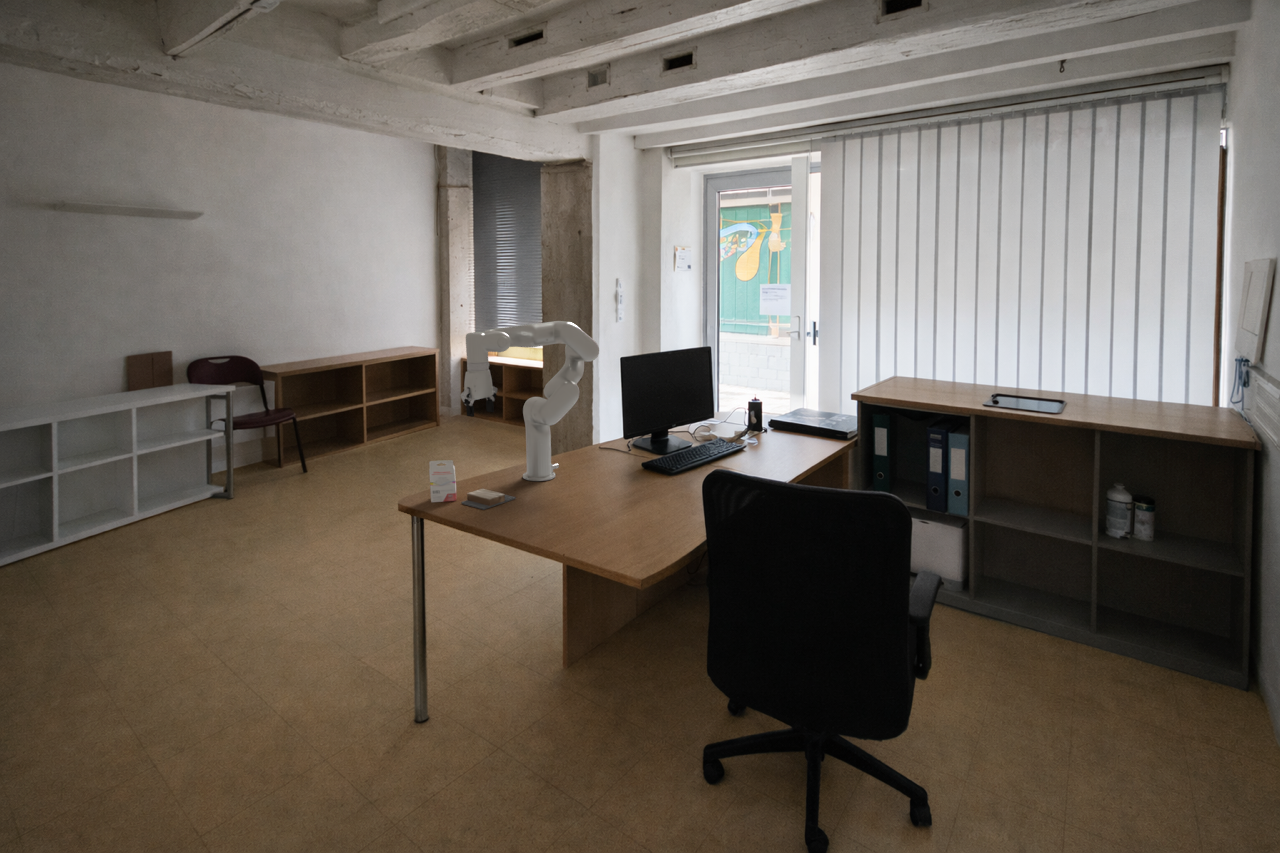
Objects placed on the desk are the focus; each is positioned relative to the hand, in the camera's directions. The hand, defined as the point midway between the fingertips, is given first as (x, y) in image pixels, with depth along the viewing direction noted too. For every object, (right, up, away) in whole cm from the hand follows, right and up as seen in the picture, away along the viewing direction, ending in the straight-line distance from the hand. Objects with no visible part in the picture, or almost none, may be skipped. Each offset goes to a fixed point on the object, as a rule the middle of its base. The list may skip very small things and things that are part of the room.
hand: (480, 413), depth 256 cm
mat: (+5, -31, -11) cm, 33 cm away
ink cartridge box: (-11, -30, -9) cm, 34 cm away
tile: (+7, -28, -9) cm, 31 cm away
